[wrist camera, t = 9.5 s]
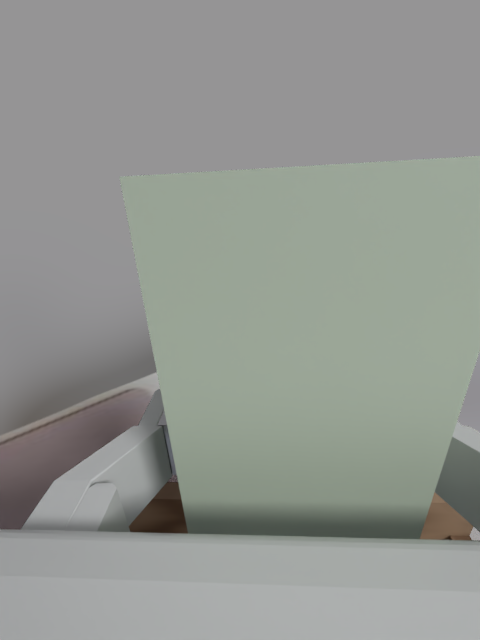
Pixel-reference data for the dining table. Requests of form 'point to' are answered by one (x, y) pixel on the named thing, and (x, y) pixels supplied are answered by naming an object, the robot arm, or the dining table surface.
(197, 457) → the sage block
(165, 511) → the tray
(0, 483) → the dining table surface
